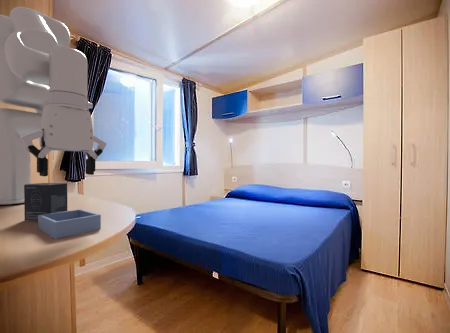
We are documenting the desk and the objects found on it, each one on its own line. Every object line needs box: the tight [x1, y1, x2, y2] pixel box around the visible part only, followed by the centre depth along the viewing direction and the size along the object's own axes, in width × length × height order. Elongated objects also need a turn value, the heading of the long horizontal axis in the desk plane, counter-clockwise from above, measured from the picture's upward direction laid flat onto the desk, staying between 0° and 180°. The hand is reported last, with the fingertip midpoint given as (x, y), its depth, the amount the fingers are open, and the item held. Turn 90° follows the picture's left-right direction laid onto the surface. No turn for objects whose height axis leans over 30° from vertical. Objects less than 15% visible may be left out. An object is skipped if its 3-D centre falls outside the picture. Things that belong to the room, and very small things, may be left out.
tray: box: [37, 208, 102, 240], centre depth 55 cm, size 11×9×4 cm
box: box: [23, 182, 68, 223], centre depth 62 cm, size 8×6×11 cm
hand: (68, 175), depth 55 cm, fingers open, 9 cm apart
